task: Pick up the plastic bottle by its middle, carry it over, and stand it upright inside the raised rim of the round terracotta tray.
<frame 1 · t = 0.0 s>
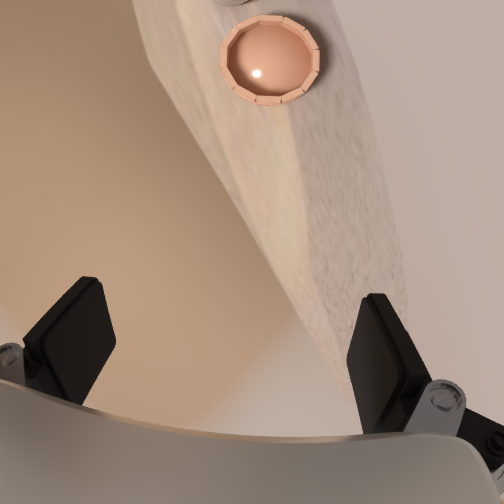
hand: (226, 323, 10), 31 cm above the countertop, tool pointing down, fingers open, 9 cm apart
round tray: (269, 61, 33), on the countertop
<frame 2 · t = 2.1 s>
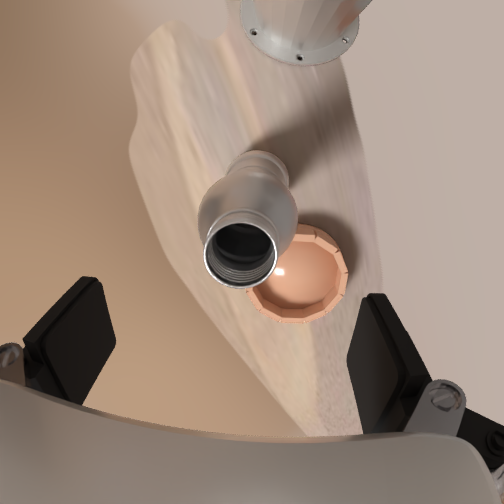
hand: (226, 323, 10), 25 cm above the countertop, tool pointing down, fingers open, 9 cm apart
round tray: (295, 270, 37), on the countertop
plastic bottle: (257, 177, 33), on the countertop
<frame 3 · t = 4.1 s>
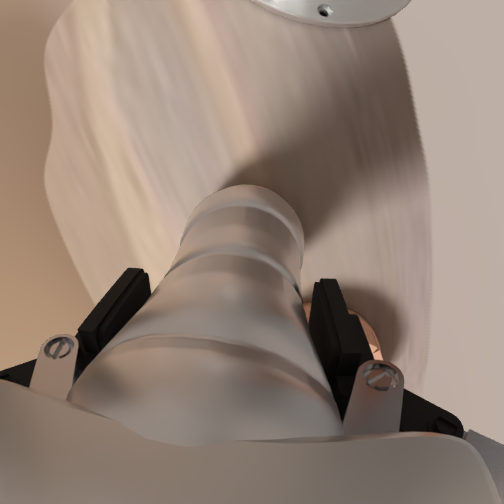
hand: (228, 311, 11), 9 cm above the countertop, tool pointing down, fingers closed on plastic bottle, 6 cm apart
round tray: (305, 363, 23), on the countertop
plastic bottle: (245, 229, 19), on the countertop, touching gripper
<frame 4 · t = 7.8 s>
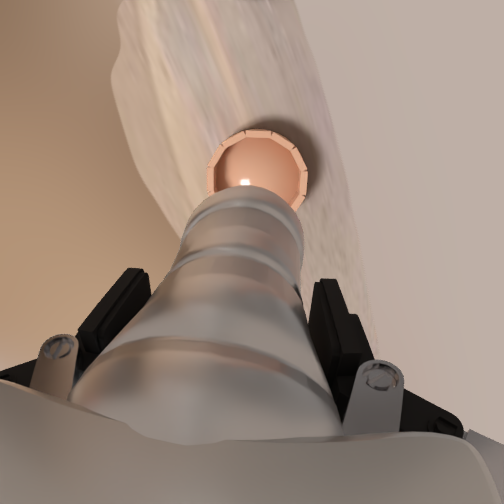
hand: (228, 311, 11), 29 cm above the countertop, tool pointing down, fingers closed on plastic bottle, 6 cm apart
round tray: (257, 176, 37), on the countertop
plastic bottle: (246, 229, 19), point 20 cm above the countertop, touching gripper
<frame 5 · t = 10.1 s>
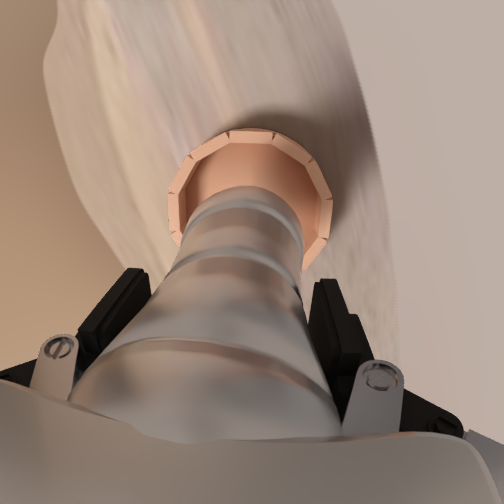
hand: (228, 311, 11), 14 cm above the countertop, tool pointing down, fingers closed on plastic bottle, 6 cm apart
round tray: (251, 203, 24), on the countertop
plastic bottle: (246, 229, 19), point 6 cm above the countertop, touching gripper
when the fingers open (11 cm above the countertop, at t = 11.8 s): plastic bottle drops 1 cm, resting on round tray.
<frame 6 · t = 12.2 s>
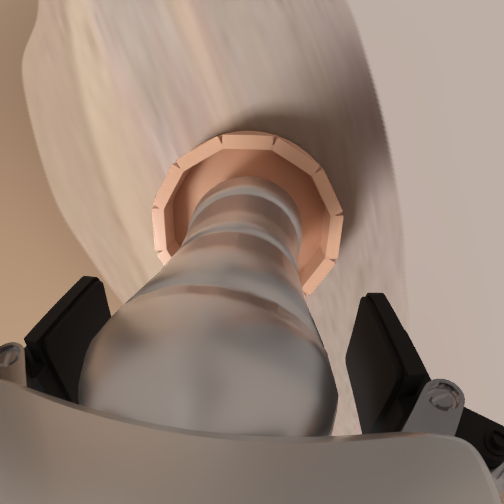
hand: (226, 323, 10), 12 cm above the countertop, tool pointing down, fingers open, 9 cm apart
round tray: (248, 218, 21), on the countertop
plastic bottle: (248, 218, 20), point 1 cm above the countertop, touching round tray
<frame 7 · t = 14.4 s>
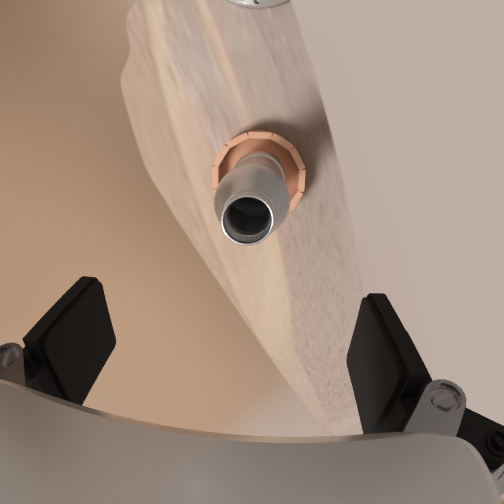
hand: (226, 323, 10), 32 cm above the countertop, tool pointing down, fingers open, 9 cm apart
round tray: (259, 174, 40), on the countertop
plastic bottle: (259, 173, 39), point 1 cm above the countertop, touching round tray
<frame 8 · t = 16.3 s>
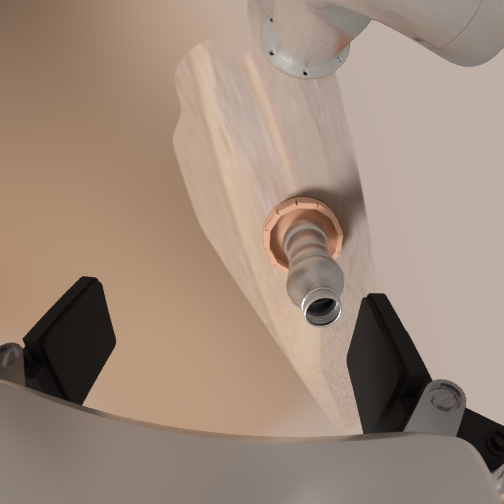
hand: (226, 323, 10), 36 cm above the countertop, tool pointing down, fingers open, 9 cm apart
round tray: (302, 234, 47), on the countertop
plastic bottle: (303, 234, 46), point 1 cm above the countertop, touching round tray
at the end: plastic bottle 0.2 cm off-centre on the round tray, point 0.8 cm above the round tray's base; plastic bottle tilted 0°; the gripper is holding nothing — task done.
